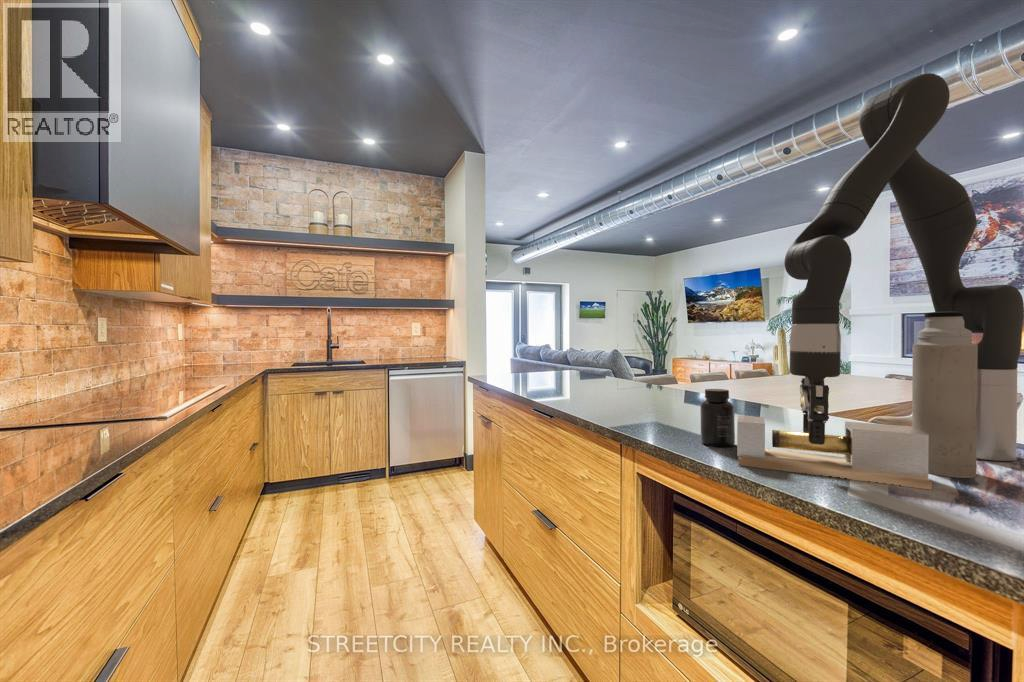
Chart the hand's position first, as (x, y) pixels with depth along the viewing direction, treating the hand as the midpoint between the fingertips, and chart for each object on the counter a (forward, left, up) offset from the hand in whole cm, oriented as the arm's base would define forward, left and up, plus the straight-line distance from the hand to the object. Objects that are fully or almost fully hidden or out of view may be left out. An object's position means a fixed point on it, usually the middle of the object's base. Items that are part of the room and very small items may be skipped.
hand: (813, 438), depth 77 cm
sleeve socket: (0, +1, -4) cm, 4 cm away
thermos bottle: (-8, +20, -6) cm, 22 cm away
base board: (0, +1, -5) cm, 5 cm away
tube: (0, +2, -2) cm, 3 cm away
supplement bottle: (-10, -16, -6) cm, 20 cm away
